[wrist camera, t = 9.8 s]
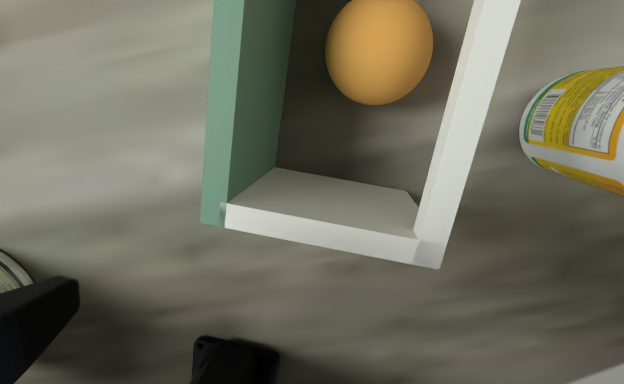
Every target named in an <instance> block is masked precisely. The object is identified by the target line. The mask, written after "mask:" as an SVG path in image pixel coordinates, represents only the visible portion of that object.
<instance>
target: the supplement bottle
mask: <svg viewBox="0 0 624 384" xmlns="http://www.w3.org/2000/svg"><path fill="white" fill-rule="evenodd" d="M519 138H520V143H521V146H522V149H523V151H524V152H525V154H526V155H527V157H528V158H529V159H530V160H531V161H532V162H533V163H534V164H536V165H537V166H539V167H541V168H543V169H545V170H548V171H550V172H553V173H556V174H559V175H562V176H565V177H568V178H571V179H574V180H577V181H580V182H583V183H586V184H589V185H592V186H595V187H598V188H601V189H604V190H607V191H610V192H613V193H616V194H619V195H622V196H624V66H622V67H615V68H606V69H598V70H589V71H582V72H576V73H571V74H568V75H565V76H562V77H560V78H558V79H556V80H554V81H552V82H550V83H549V84H547V85H546V86H545V87H543V88H542V89H541V90H540V91H539V92H538V93H537V94H536V95H535V96H534V97H533V98H532V100H531V101H530V102H529V104H528V105H527V107H526V109H525V111H524V113H523V115H522V118H521V122H520V127H519Z"/></svg>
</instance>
